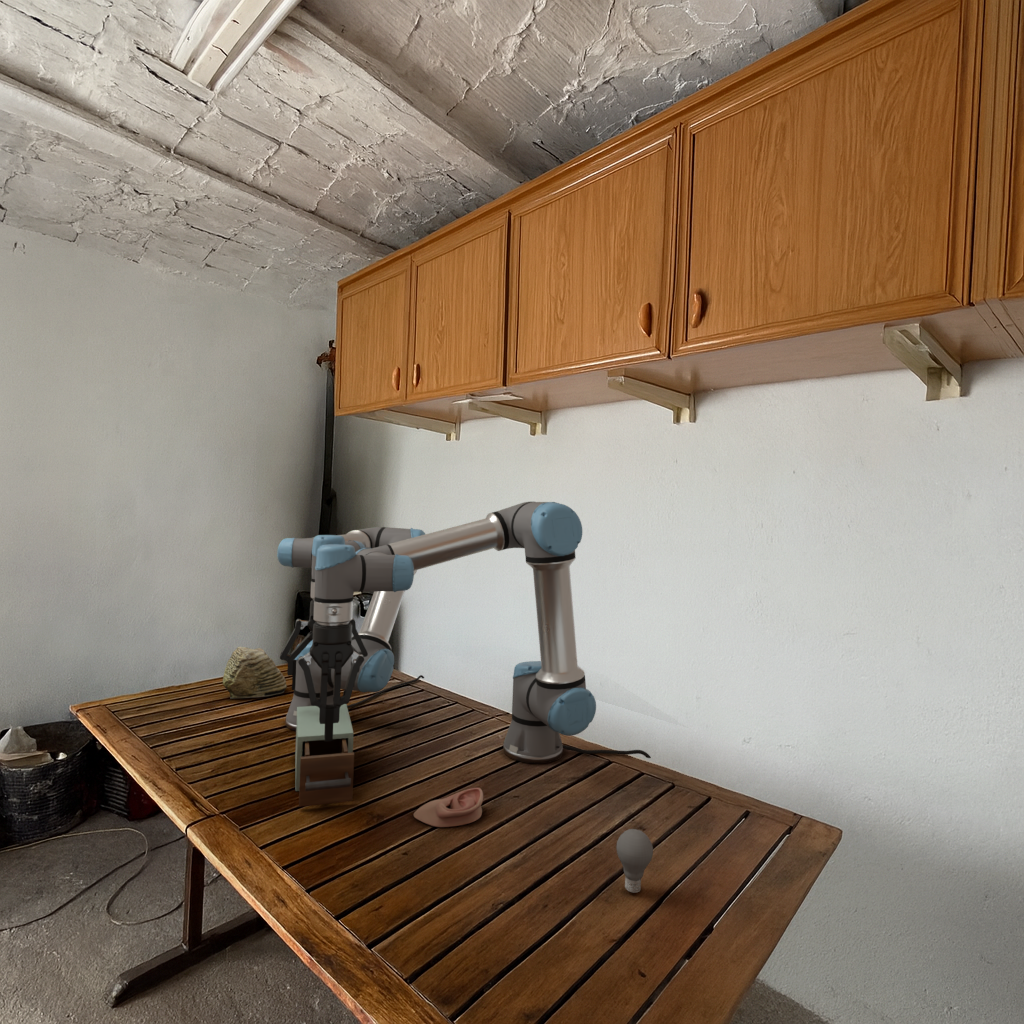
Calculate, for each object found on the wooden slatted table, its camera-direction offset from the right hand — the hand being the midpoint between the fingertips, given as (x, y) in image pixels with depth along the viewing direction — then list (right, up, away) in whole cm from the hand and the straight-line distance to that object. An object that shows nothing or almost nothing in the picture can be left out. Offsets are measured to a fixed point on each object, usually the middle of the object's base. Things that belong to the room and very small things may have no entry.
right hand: (328, 738), depth 127 cm
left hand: (-9, +3, +26) cm, 28 cm away
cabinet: (-7, -14, +20) cm, 26 cm away
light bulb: (+57, -18, -21) cm, 63 cm away
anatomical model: (+24, -16, +1) cm, 29 cm away
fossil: (-44, -12, +71) cm, 84 cm away
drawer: (-3, -14, +8) cm, 16 cm away
